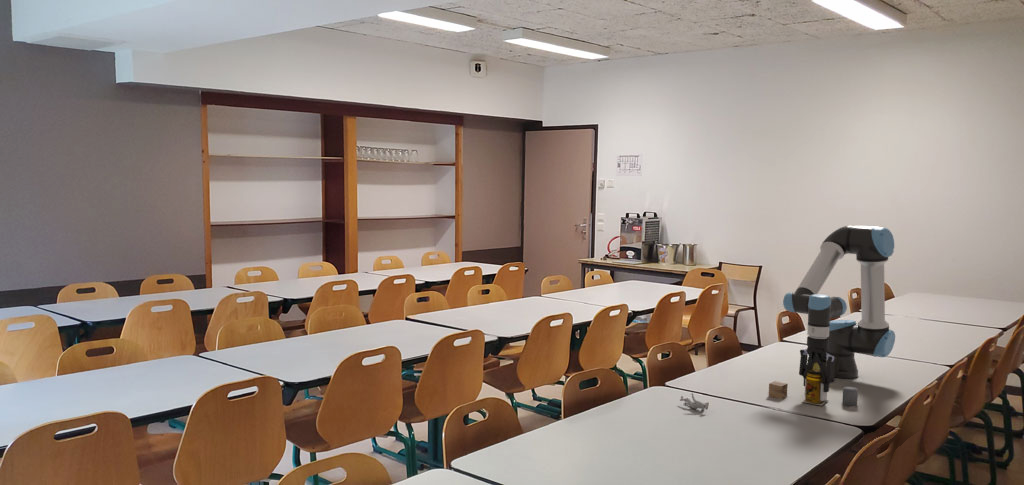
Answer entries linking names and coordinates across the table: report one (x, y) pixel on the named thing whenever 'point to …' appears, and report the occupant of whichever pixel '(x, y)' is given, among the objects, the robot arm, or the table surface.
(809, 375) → the condiment
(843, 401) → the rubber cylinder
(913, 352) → the table surface
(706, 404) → the soldier figure
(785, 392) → the walnut block
